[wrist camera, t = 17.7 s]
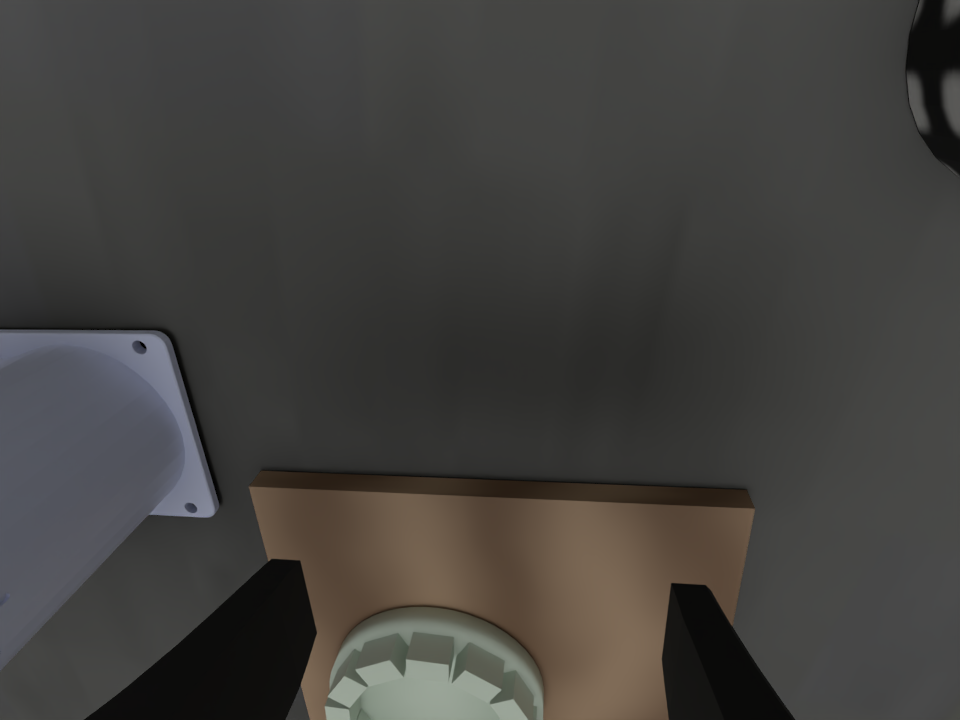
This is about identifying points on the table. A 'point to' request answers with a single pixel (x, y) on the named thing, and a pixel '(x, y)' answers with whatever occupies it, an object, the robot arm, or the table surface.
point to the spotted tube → (936, 78)
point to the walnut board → (511, 569)
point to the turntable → (433, 670)
